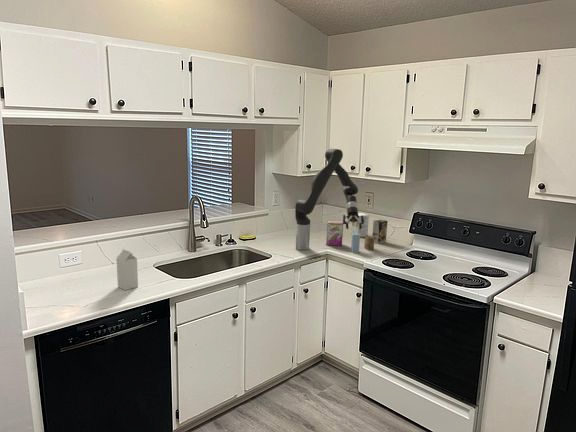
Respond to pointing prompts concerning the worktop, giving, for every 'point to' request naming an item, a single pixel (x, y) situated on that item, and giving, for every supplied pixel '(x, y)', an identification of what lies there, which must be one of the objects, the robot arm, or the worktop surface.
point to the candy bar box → (334, 233)
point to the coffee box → (379, 231)
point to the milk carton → (127, 270)
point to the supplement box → (364, 229)
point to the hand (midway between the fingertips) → (354, 228)
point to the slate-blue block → (355, 243)
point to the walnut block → (369, 243)
